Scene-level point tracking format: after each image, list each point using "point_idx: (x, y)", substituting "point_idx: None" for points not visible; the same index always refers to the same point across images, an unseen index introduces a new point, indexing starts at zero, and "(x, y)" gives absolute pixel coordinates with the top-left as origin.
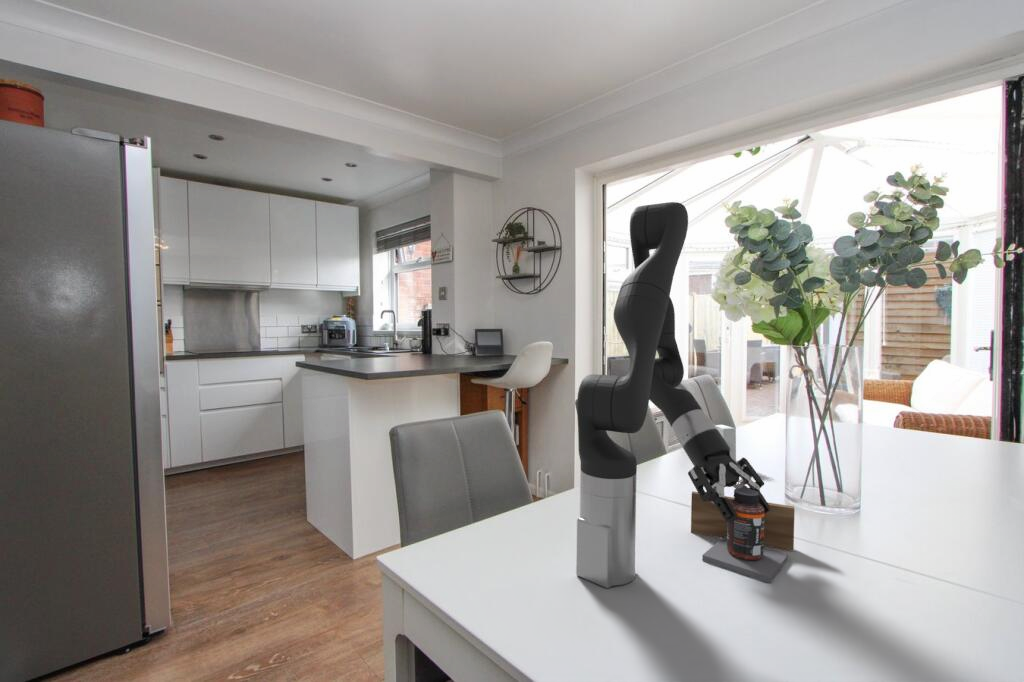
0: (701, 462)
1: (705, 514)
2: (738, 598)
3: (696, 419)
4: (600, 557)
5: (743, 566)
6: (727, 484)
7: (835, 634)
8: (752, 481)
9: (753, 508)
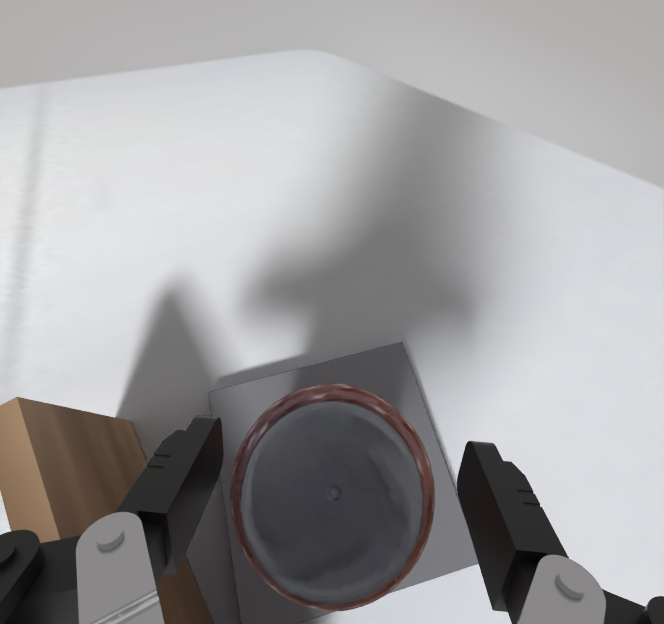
0: None
1: None
2: (541, 347)
3: None
4: None
5: (416, 421)
6: None
7: (460, 185)
8: (90, 593)
9: (371, 406)
